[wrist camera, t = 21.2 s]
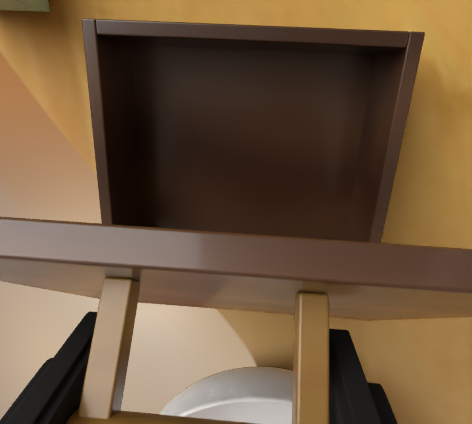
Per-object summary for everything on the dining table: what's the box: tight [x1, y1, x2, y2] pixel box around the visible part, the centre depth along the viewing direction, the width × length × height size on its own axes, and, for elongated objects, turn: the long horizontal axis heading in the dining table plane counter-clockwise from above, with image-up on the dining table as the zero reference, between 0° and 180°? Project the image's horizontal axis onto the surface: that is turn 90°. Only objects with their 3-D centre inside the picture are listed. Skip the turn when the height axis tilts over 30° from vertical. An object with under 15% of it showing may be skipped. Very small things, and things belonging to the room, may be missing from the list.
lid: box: [0, 217, 472, 424], centre depth 13 cm, size 16×16×5 cm
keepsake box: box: [82, 18, 425, 243], centre depth 22 cm, size 15×16×6 cm
